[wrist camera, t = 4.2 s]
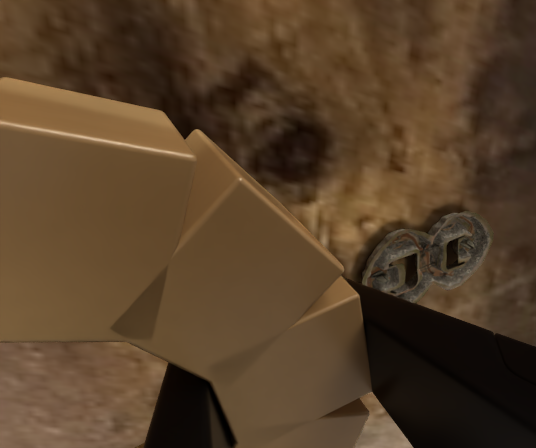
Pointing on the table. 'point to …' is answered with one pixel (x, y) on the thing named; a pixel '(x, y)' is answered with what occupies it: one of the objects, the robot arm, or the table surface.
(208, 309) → the hoop
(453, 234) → the corroded twin loop
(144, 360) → the table surface
